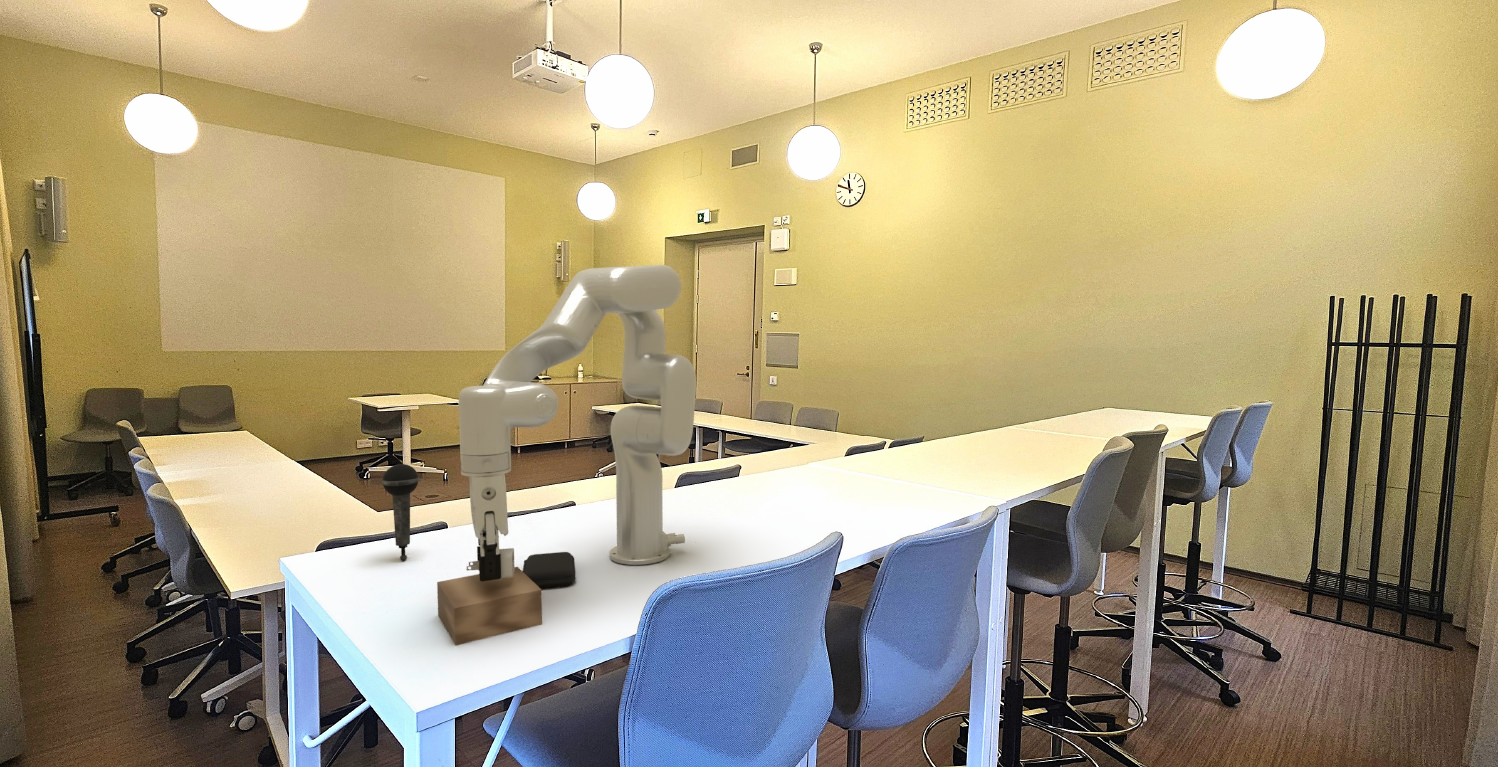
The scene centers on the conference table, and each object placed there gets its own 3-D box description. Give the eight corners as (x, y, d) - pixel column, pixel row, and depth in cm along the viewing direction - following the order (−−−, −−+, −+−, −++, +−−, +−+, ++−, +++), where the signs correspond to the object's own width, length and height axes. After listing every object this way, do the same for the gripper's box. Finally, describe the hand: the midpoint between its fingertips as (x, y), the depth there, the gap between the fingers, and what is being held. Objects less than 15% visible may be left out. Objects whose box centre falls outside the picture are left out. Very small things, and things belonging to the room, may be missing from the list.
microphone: (424, 562, 137) (421, 465, 136) (386, 568, 133) (383, 468, 132) (419, 553, 143) (416, 459, 141) (382, 559, 139) (379, 463, 138)
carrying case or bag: (519, 567, 135) (514, 594, 121) (519, 552, 135) (514, 578, 121) (574, 562, 138) (576, 588, 124) (573, 548, 138) (575, 572, 124)
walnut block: (518, 599, 119) (517, 566, 118) (542, 625, 108) (541, 589, 108) (438, 617, 111) (437, 581, 111) (455, 647, 100) (454, 608, 100)
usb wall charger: (512, 578, 108) (511, 554, 108) (466, 582, 107) (465, 557, 106) (514, 570, 112) (513, 546, 112) (470, 573, 110) (469, 550, 110)
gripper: (516, 470, 102) (519, 588, 103) (506, 452, 117) (508, 555, 118) (462, 475, 99) (466, 596, 100) (459, 456, 114) (462, 561, 115)
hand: (489, 573), depth 109 cm, fingers closed on usb wall charger, 4 cm apart
